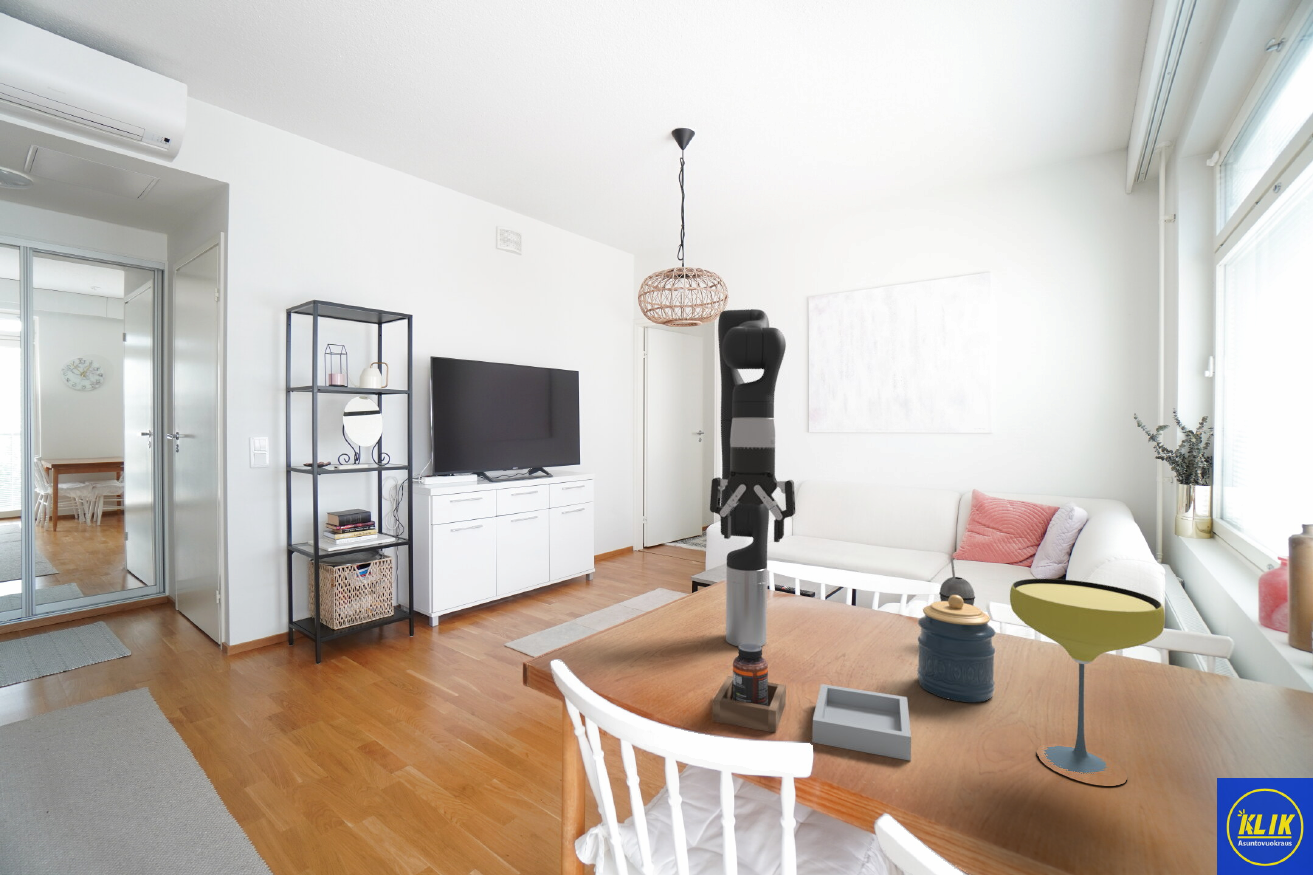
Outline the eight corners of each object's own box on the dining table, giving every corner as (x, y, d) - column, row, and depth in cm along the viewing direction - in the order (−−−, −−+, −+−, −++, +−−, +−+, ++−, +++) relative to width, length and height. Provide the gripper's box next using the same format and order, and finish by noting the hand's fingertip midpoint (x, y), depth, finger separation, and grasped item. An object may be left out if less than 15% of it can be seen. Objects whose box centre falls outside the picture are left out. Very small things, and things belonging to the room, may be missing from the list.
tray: (820, 703, 104) (821, 683, 104) (906, 717, 99) (906, 697, 99) (812, 742, 91) (812, 719, 91) (910, 760, 86) (911, 736, 86)
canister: (990, 681, 114) (992, 591, 114) (998, 710, 103) (999, 608, 102) (917, 669, 120) (918, 583, 120) (916, 695, 108) (917, 599, 108)
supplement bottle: (770, 707, 103) (770, 643, 103) (765, 723, 97) (765, 655, 97) (736, 702, 105) (736, 638, 104) (729, 717, 99) (729, 650, 99)
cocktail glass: (1197, 794, 79) (1200, 608, 79) (1086, 811, 75) (1089, 615, 75) (1075, 728, 96) (1077, 575, 96) (980, 739, 93) (982, 580, 92)
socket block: (727, 694, 107) (727, 675, 107) (785, 704, 104) (785, 684, 104) (712, 720, 98) (712, 699, 98) (775, 732, 94) (775, 710, 94)
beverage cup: (979, 653, 129) (980, 562, 129) (943, 650, 131) (944, 560, 131) (968, 641, 136) (969, 555, 136) (934, 639, 138) (935, 553, 138)
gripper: (798, 445, 101) (797, 539, 102) (717, 444, 107) (716, 533, 107) (792, 445, 94) (791, 546, 95) (706, 444, 100) (705, 540, 100)
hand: (751, 539), depth 101 cm, fingers open, 8 cm apart
